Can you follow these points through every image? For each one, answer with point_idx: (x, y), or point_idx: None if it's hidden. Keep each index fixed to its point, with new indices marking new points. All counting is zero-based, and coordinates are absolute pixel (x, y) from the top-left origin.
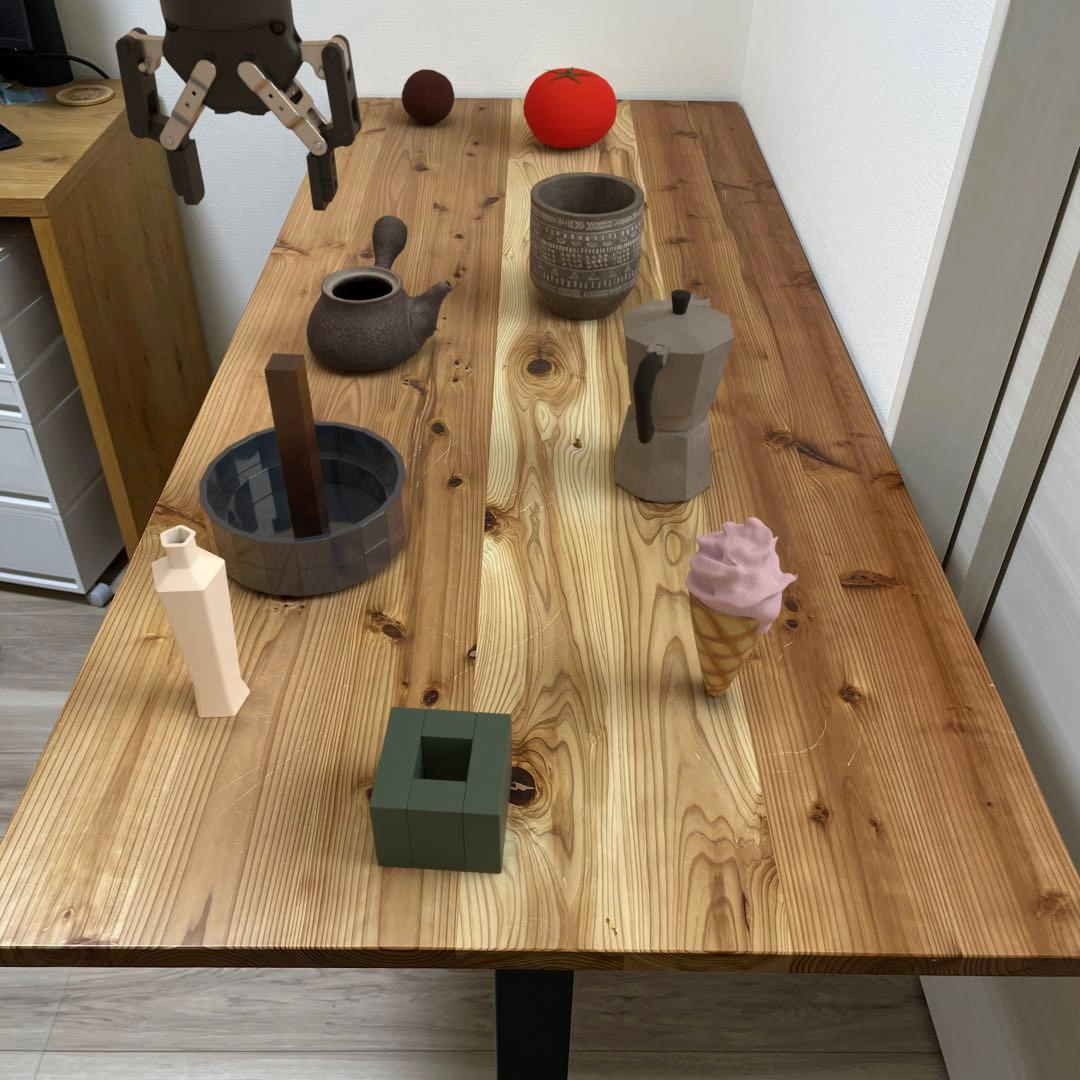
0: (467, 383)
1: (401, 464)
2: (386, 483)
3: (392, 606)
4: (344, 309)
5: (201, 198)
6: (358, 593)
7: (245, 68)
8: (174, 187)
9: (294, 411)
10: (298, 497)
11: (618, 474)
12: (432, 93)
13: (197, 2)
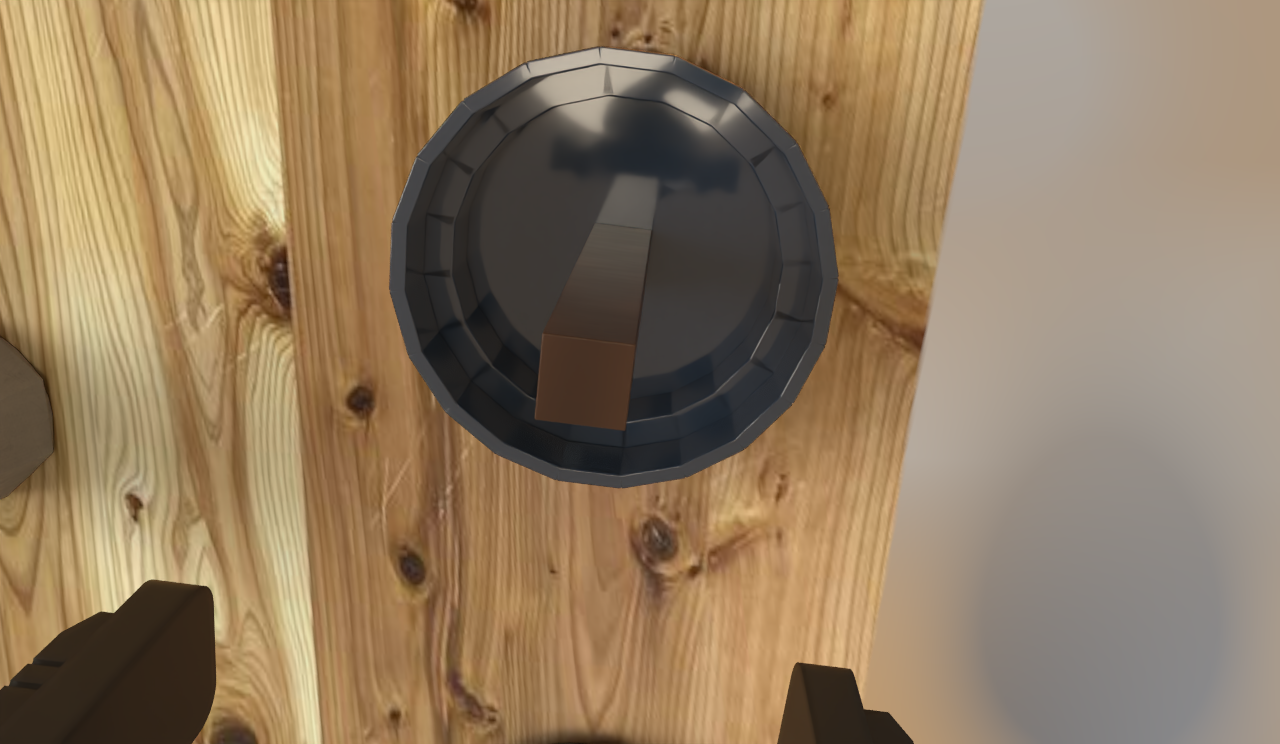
0: (370, 704)
1: (402, 321)
2: (460, 329)
3: (440, 27)
4: None
5: (781, 729)
6: (510, 69)
7: None
8: (907, 742)
9: (580, 301)
10: (624, 247)
11: (25, 384)
12: None
13: None
